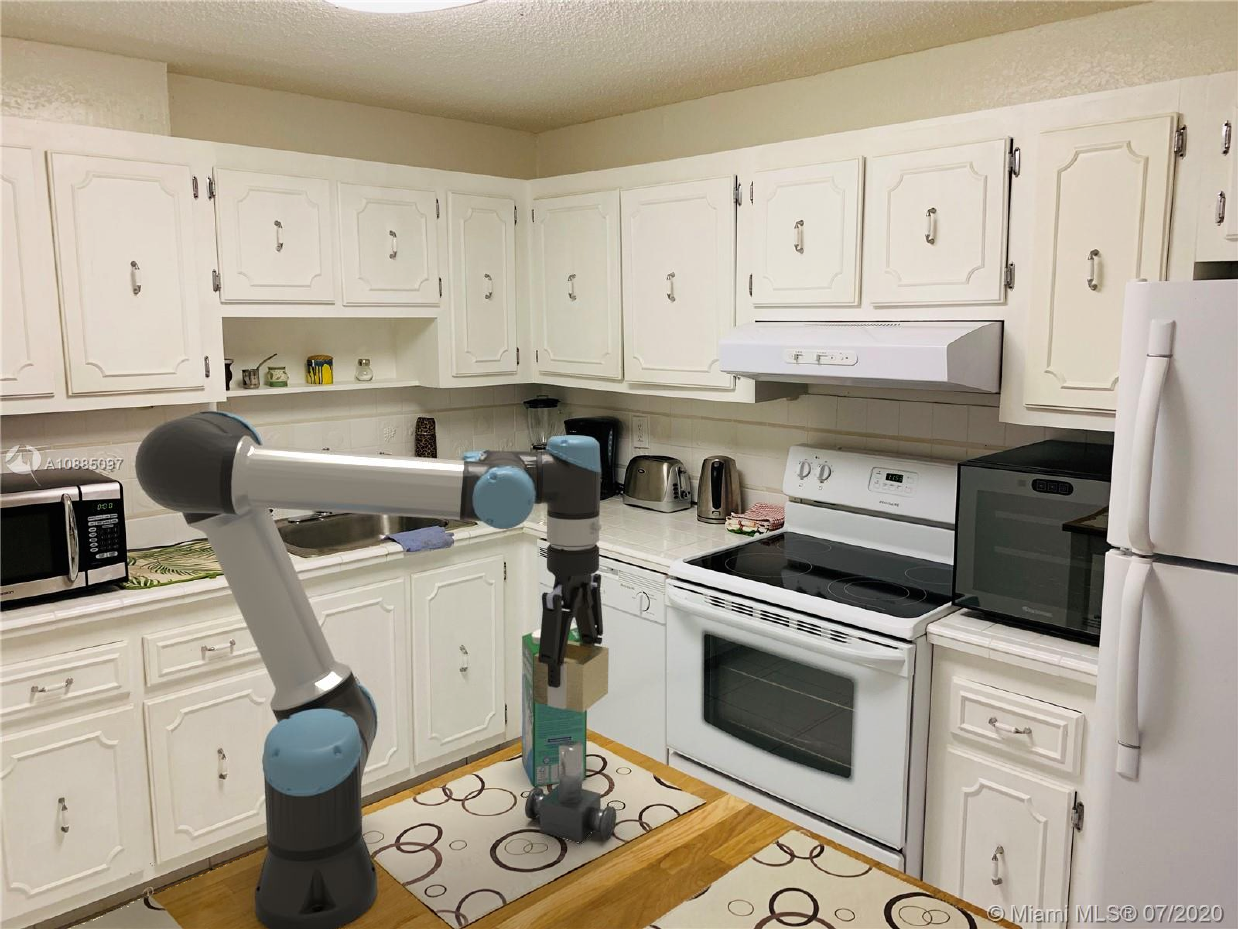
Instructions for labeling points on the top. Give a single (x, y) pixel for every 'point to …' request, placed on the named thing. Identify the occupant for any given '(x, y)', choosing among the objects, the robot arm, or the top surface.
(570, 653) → the collar
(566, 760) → the valve
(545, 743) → the milk carton
